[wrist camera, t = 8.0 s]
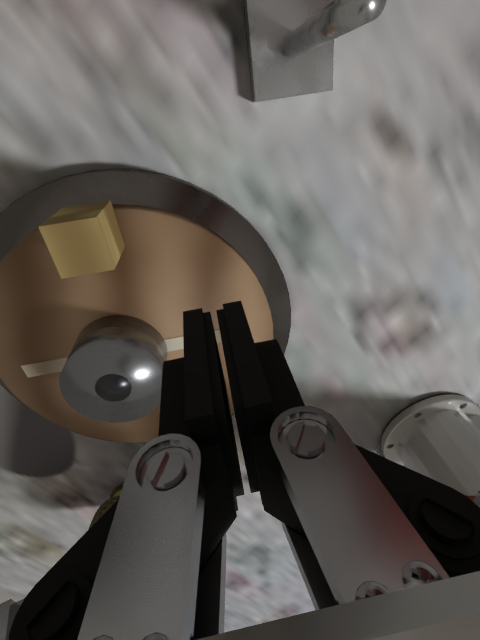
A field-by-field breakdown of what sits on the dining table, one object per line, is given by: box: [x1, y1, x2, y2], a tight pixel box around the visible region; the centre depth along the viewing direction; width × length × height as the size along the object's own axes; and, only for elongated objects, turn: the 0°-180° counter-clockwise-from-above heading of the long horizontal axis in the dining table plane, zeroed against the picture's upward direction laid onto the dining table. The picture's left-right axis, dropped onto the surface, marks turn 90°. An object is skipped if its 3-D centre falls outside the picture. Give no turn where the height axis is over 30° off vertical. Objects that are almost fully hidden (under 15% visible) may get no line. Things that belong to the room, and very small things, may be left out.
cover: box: [59, 315, 167, 423], centre depth 25 cm, size 7×7×4 cm
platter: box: [0, 200, 273, 443], centre depth 26 cm, size 22×22×6 cm
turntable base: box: [0, 169, 291, 416], centre depth 29 cm, size 26×26×1 cm
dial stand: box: [244, 0, 386, 102], centre depth 16 cm, size 6×5×12 cm
